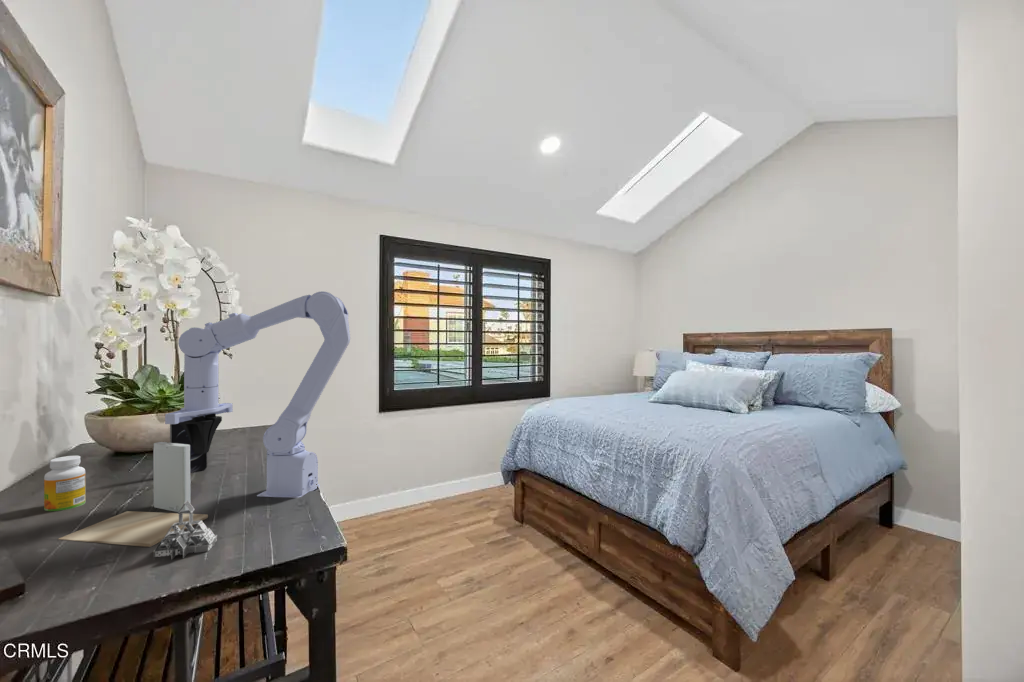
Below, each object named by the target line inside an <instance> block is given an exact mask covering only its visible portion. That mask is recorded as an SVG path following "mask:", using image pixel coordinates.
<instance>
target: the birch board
mask: <svg viewBox="0 0 1024 682" xmlns="http://www.w3.org/2000/svg"><path fill="white" fill-rule="evenodd" d="M208 517H209V515H208V514H205V513H203V514H201V513H193V521H199V520H202V521H205V520H206V519H208ZM187 521H189V513H184V514H183V522H187ZM177 522H179V514H178V512H159V511H158V512H157V511H156V512H153V511H133V510H132V511H128V510H126V511H124V512H122V513H119V514H117V515H114V516H111V517H108V518H107V519H103V520H102V521H98V522H96V523H94V524H92V525H89V526H87V527H84V528H82V529H79V530H77V531H74V532H72V533H69V534H66V535H64V536H61V537H59V538H58V540H61V541H75V542H87V543H99V544H110V545H122V546H134V547H147V548H148V547H149V548H150V547H152V546H154V545H158V544H159V543H160V542H161V540H162V539H163V538H164V537H165V535H166V534H167V532H168V531H169V529H170V527H171V526H172V525H173V524H174V523H177ZM191 525H192V527H193V526H196V524H191ZM178 527H179V528H180V530H182V529H183V527H184V525H178ZM185 530H188V529H187V528H186V527H185V528H184V531H185ZM171 531H174V530H173V528H172V529H171V530H170V532H171Z"/></svg>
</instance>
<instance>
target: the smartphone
mask: <svg viewBox="0 0 1024 682" xmlns="http://www.w3.org/2000/svg"><path fill="white" fill-rule="evenodd" d="M200 415H202V414H200ZM169 443H178V444H187V445H190V474H194V473H197V472H198V473H200V472H204V471H206V470H207V468H208V452H207V453H204V454H195V453H194V450H193V447H192V444H191V441H190V438H189V436H188V434H187V433H186V431H185V430H184V428H183V427H182V426H181V425H180V422H179V423H178V424H169Z"/></svg>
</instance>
